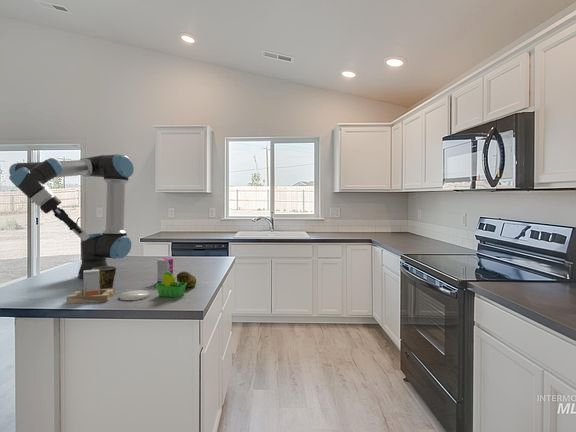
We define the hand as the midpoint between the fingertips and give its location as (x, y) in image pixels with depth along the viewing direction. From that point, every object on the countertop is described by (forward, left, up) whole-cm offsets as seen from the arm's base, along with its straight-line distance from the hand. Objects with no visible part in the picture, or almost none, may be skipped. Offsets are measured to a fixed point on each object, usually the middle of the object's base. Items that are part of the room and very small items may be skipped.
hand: (85, 238), depth 160 cm
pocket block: (+7, +4, -25) cm, 26 cm away
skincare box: (+7, +4, -25) cm, 26 cm away
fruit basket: (+8, +36, -25) cm, 45 cm away
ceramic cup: (-7, +5, -25) cm, 26 cm away
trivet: (+7, +21, -25) cm, 33 cm away
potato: (-6, +42, -25) cm, 49 cm away
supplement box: (-20, +30, -25) cm, 44 cm away
